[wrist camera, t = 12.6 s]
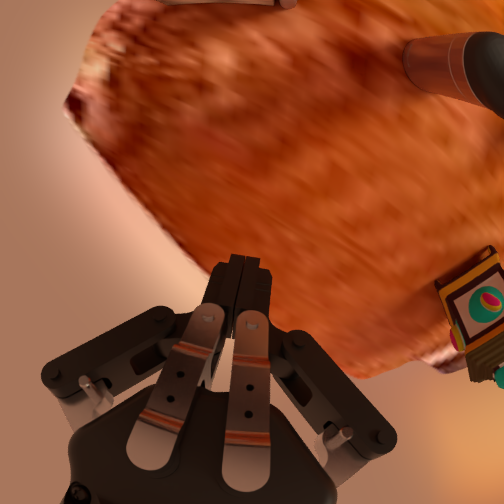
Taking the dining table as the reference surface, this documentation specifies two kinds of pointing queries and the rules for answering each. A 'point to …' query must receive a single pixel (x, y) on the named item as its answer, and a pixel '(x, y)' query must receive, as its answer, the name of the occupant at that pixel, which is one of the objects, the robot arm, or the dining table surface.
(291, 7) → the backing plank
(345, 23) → the dining table surface
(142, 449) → the robot arm
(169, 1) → the ash plank
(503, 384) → the decorative lantern
